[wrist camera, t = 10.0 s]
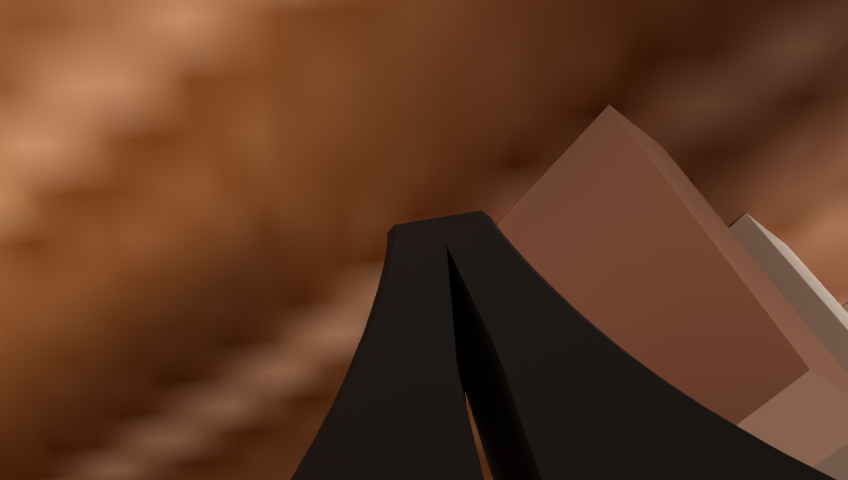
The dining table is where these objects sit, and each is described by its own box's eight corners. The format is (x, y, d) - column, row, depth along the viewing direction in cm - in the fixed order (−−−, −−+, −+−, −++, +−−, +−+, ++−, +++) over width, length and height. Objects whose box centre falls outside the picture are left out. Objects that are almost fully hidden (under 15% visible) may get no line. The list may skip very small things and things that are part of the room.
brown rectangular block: (462, 260, 18) (544, 569, 11) (609, 104, 16) (810, 370, 9) (516, 291, 19) (622, 597, 12) (662, 146, 17) (882, 418, 10)
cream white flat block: (601, 340, 20) (736, 638, 14) (745, 212, 18) (986, 489, 12) (643, 365, 21) (791, 658, 14) (787, 245, 19) (1035, 522, 12)
